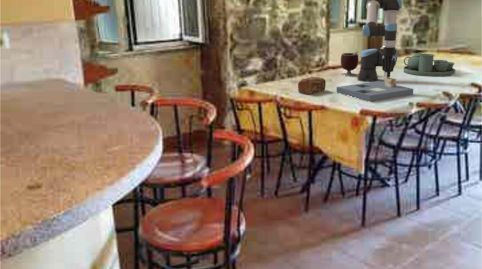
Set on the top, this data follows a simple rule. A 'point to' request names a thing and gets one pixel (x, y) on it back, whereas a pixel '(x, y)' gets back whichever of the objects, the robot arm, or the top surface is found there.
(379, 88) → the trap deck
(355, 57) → the mate gourd
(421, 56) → the tea set
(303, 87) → the bread
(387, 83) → the maple block
